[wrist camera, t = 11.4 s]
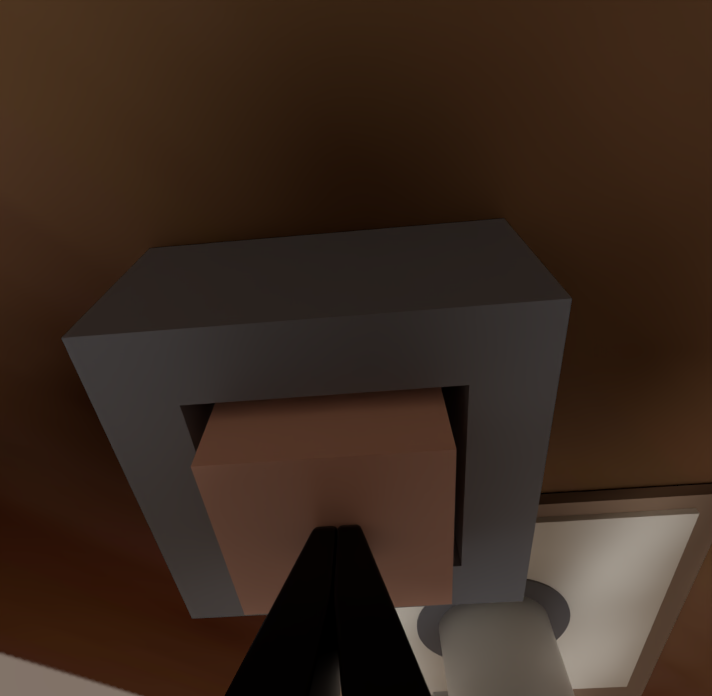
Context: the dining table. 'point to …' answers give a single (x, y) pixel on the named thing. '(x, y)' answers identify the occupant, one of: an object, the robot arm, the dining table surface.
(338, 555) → the robot arm
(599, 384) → the dining table surface
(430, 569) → the button
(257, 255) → the button housing
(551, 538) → the white flat square panel
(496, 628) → the grey cylinder
